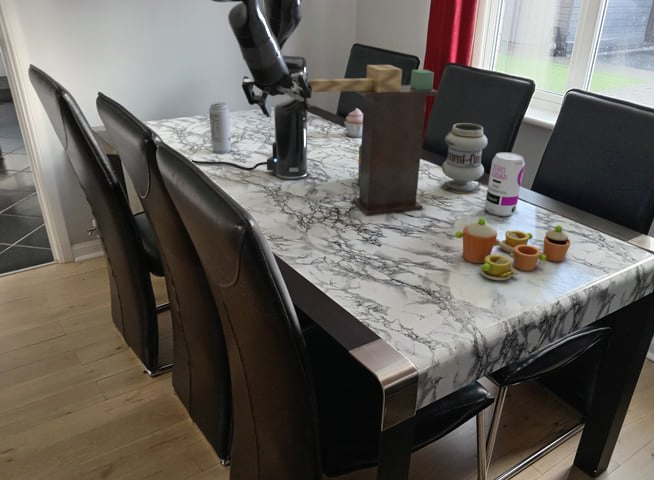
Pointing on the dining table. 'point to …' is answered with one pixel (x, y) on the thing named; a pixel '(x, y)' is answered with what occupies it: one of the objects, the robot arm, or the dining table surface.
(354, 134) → the cupcake
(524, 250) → the toy tea set
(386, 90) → the mallet
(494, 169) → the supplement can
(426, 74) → the block
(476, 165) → the apothecary jar
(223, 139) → the energy drink can
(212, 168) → the dining table surface
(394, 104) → the stand
